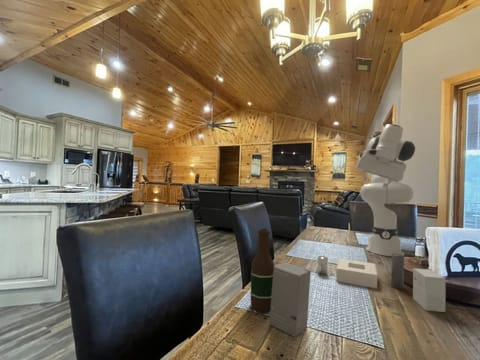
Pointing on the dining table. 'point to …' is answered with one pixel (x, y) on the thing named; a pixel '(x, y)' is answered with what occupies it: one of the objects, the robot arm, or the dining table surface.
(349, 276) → the socket block
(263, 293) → the beer bottle
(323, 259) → the short pin
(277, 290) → the skincare box
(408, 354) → the dining table surface
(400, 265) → the dark gray tall block
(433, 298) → the small box
